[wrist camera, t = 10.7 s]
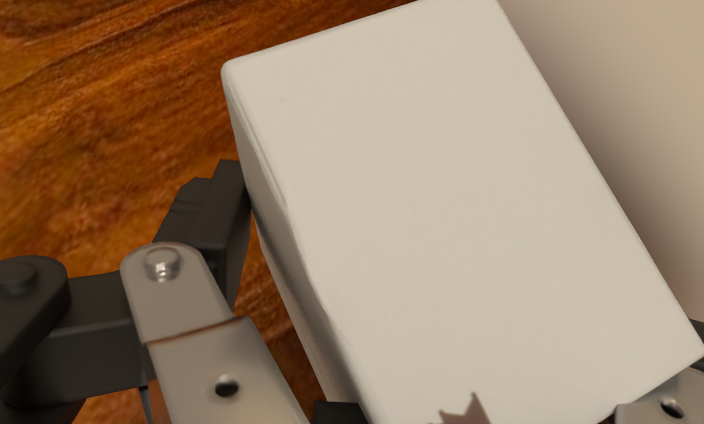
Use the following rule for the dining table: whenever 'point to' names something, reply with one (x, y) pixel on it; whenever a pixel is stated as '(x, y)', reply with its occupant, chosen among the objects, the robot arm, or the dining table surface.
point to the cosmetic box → (446, 226)
